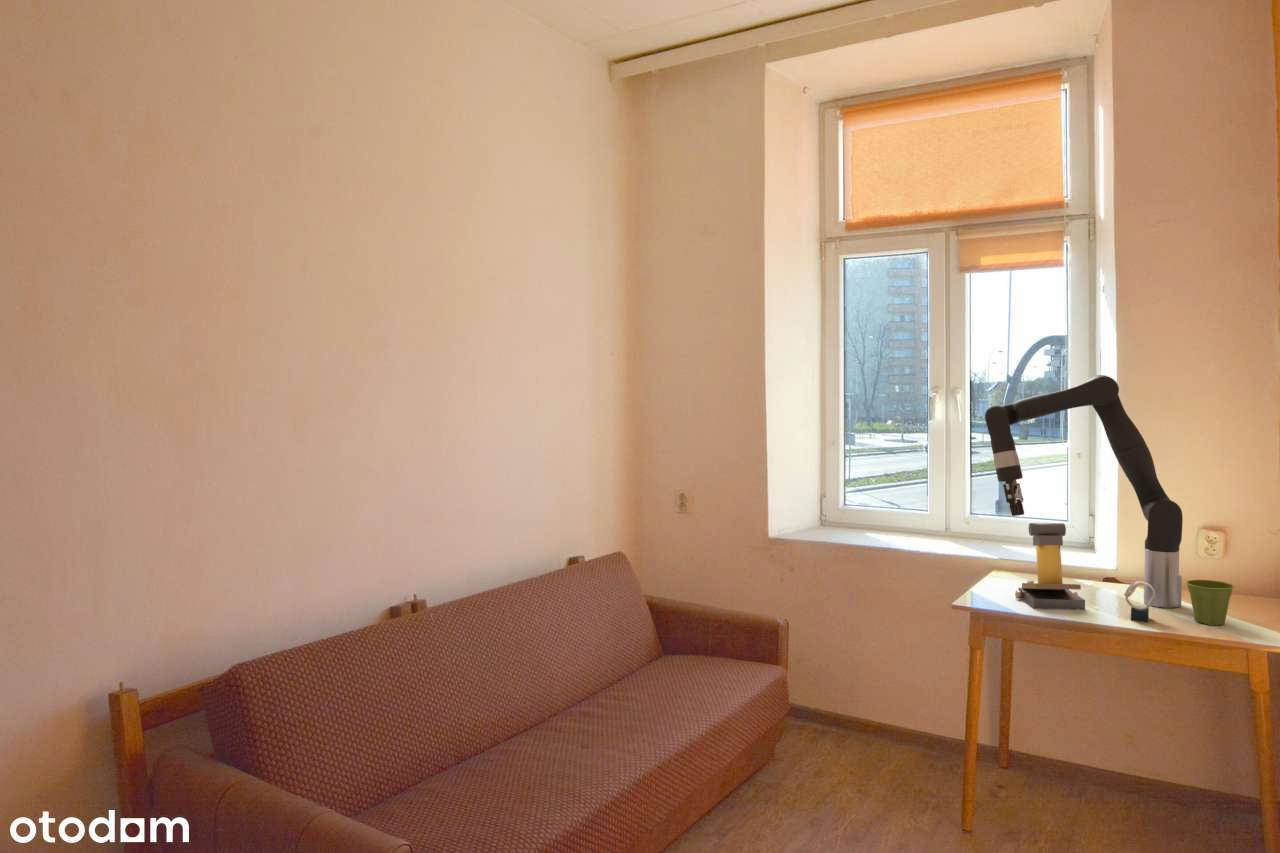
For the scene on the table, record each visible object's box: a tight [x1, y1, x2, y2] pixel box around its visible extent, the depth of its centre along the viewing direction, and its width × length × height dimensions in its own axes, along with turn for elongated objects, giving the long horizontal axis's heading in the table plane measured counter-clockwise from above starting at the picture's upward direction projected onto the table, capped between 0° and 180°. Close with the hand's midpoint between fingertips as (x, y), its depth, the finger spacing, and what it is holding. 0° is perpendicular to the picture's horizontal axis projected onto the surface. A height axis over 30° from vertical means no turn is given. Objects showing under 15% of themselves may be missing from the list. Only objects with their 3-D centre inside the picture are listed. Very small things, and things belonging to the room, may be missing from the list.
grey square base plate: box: [1014, 587, 1086, 611], centre depth 270 cm, size 18×17×3 cm
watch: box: [1123, 580, 1156, 623], centre depth 250 cm, size 6×8×11 cm
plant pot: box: [1185, 579, 1236, 626], centre depth 245 cm, size 12×12×11 cm
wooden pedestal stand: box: [1021, 522, 1082, 591], centre depth 271 cm, size 13×14×20 cm
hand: (1018, 515), depth 276 cm, fingers open, 8 cm apart
